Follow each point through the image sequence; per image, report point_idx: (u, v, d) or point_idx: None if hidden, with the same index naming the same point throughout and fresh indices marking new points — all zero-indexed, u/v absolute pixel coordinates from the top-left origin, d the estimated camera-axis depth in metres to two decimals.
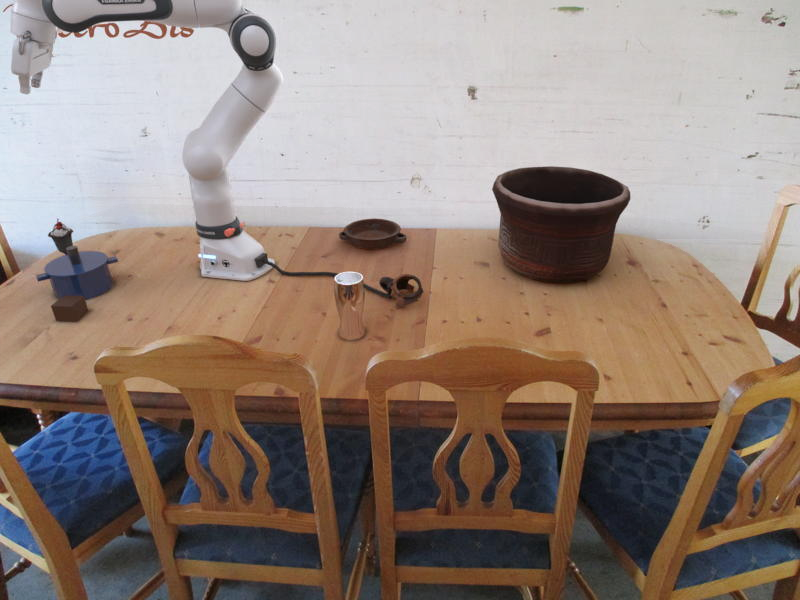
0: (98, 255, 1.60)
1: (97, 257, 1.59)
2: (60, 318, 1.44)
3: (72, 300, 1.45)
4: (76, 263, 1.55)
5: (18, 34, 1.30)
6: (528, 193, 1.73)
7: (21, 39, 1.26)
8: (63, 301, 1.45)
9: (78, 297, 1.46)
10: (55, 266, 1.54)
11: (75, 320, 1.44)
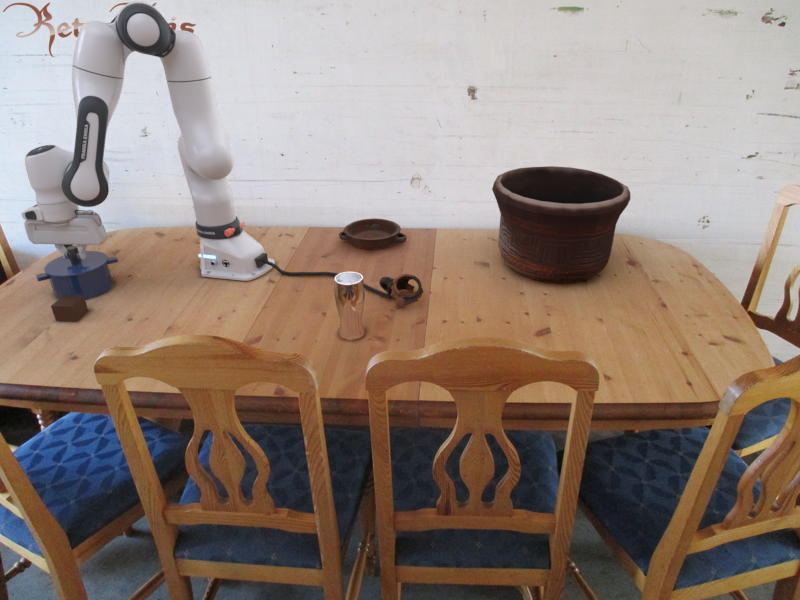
0: (98, 255, 1.60)
1: (97, 257, 1.59)
2: (60, 318, 1.44)
3: (72, 300, 1.45)
4: (76, 263, 1.55)
5: (70, 217, 1.47)
6: (528, 193, 1.73)
7: (98, 214, 1.49)
8: (63, 301, 1.45)
9: (78, 297, 1.46)
10: (55, 266, 1.54)
11: (75, 320, 1.44)
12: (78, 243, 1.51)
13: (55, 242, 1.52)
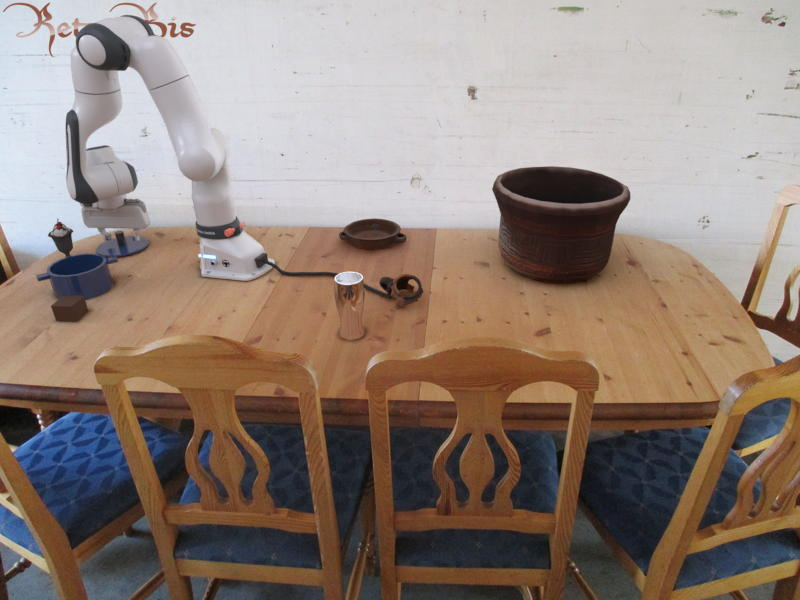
0: (140, 239, 1.88)
1: (139, 240, 1.86)
2: (60, 318, 1.44)
3: (72, 300, 1.45)
4: (122, 245, 1.82)
5: (121, 205, 1.75)
6: (528, 193, 1.73)
7: (143, 202, 1.76)
8: (63, 301, 1.45)
9: (78, 297, 1.46)
10: (105, 248, 1.82)
11: (75, 320, 1.44)
12: (126, 227, 1.79)
13: (106, 226, 1.79)
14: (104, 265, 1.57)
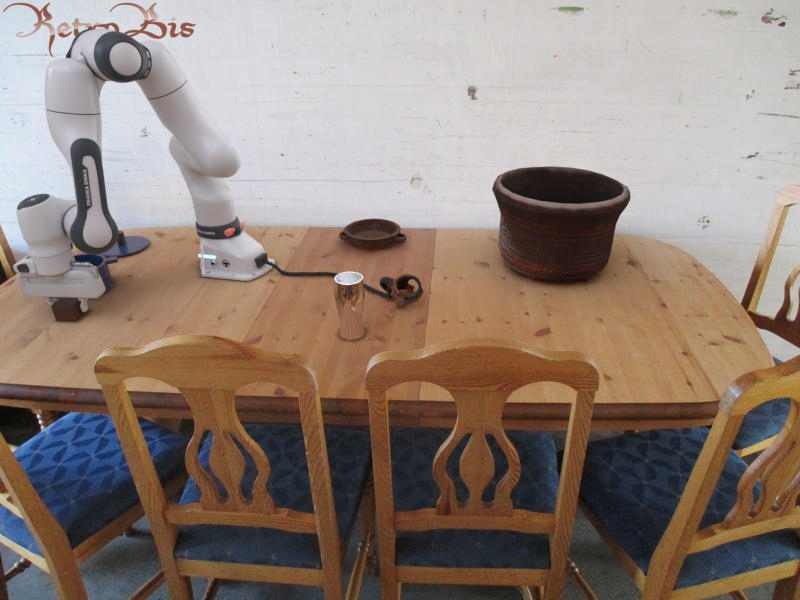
0: (140, 239, 1.88)
1: (139, 240, 1.86)
2: (60, 318, 1.44)
3: (72, 300, 1.45)
4: (122, 245, 1.82)
5: (66, 270, 1.38)
6: (528, 193, 1.73)
7: (95, 266, 1.39)
8: (63, 301, 1.45)
9: None
10: None
11: (75, 320, 1.44)
12: (73, 296, 1.42)
13: (49, 295, 1.42)
14: (104, 265, 1.57)
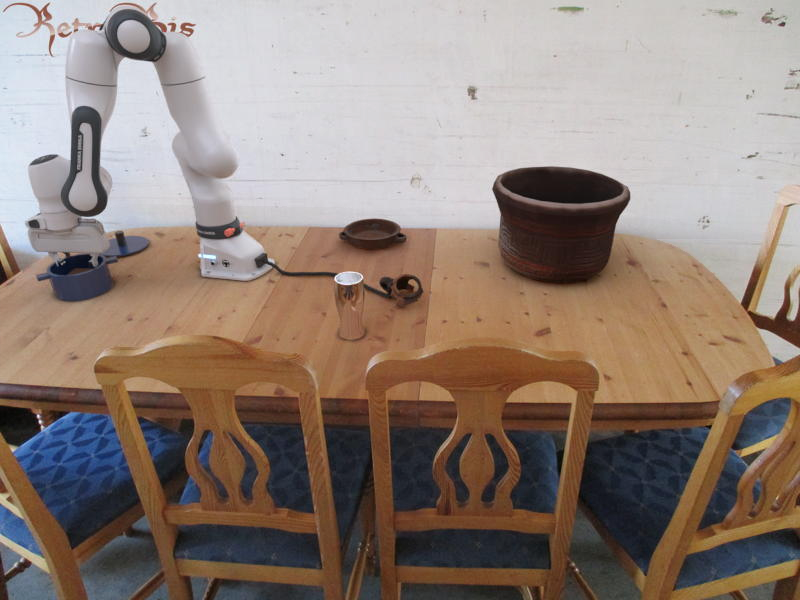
0: (140, 239, 1.88)
1: (139, 240, 1.86)
2: None
3: None
4: (122, 245, 1.82)
5: (73, 225, 1.49)
6: (528, 193, 1.73)
7: (100, 223, 1.50)
8: (75, 272, 1.58)
9: (89, 269, 1.59)
10: None
11: None
12: (81, 251, 1.52)
13: (58, 250, 1.53)
14: (104, 265, 1.57)
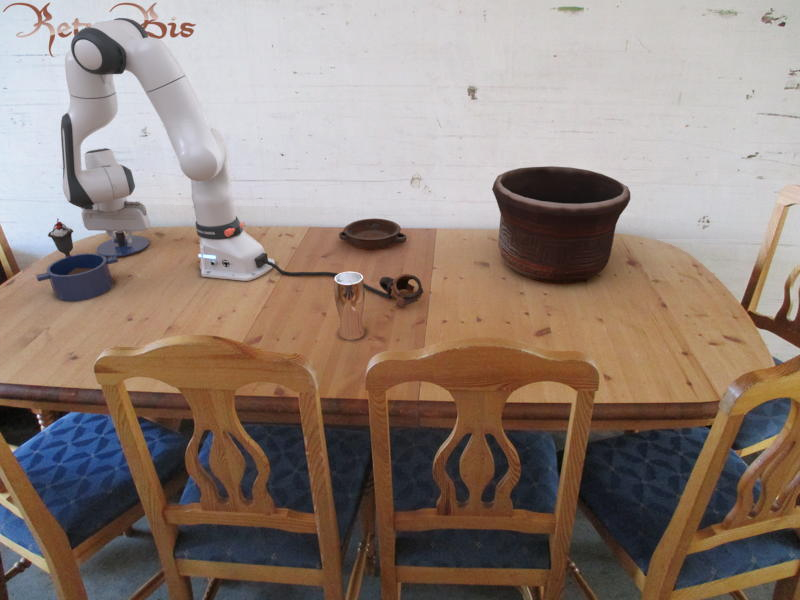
0: (140, 239, 1.88)
1: (140, 240, 1.86)
2: None
3: None
4: (123, 245, 1.82)
5: (121, 207, 1.75)
6: (528, 193, 1.73)
7: (143, 205, 1.77)
8: (75, 272, 1.58)
9: (89, 269, 1.59)
10: (105, 248, 1.82)
11: None
12: (126, 229, 1.79)
13: (107, 229, 1.79)
14: (104, 265, 1.57)
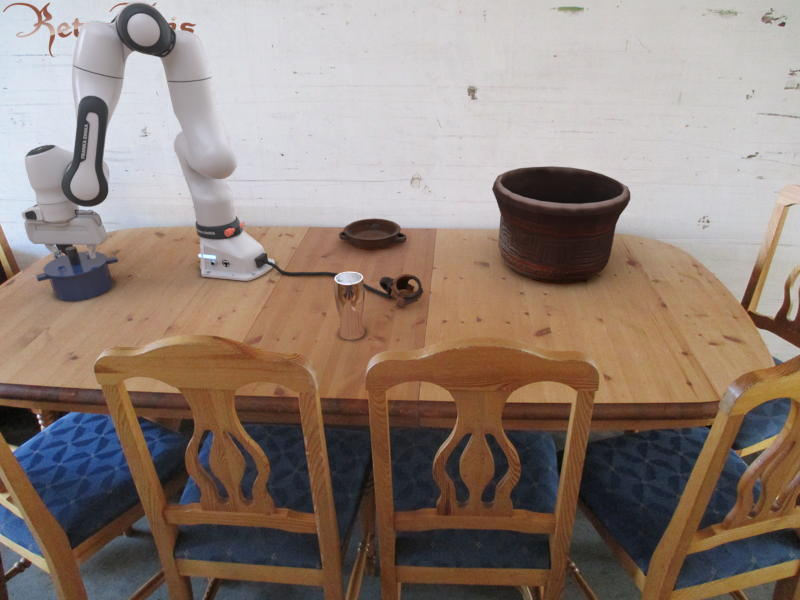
0: (97, 255, 1.60)
1: (96, 257, 1.59)
2: None
3: None
4: (75, 264, 1.55)
5: (71, 217, 1.47)
6: (528, 193, 1.73)
7: (98, 214, 1.49)
8: None
9: None
10: (54, 267, 1.54)
11: None
12: (78, 243, 1.51)
13: (55, 242, 1.52)
14: (104, 265, 1.57)
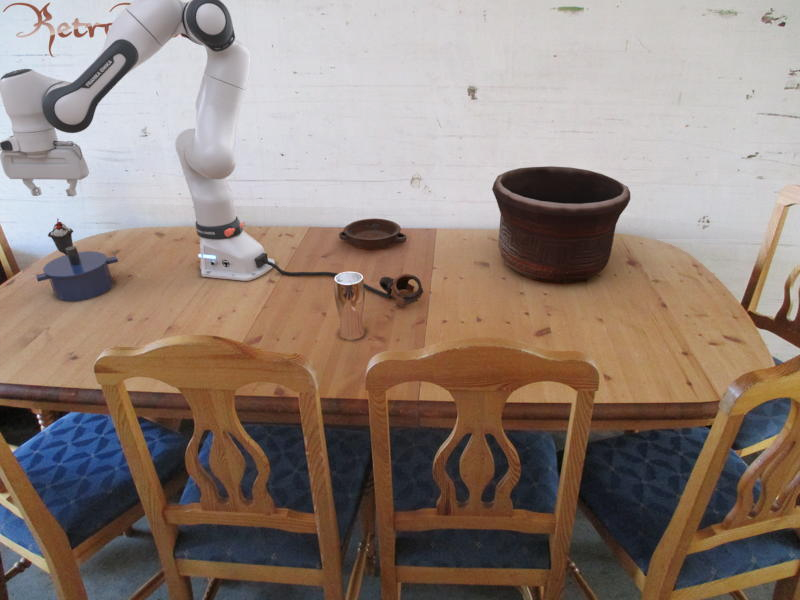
0: (97, 255, 1.60)
1: (96, 257, 1.59)
2: None
3: None
4: (75, 264, 1.55)
5: (49, 148, 1.39)
6: (528, 193, 1.73)
7: (78, 146, 1.40)
8: None
9: None
10: (54, 267, 1.54)
11: None
12: (57, 177, 1.43)
13: (33, 177, 1.43)
14: (104, 265, 1.57)
